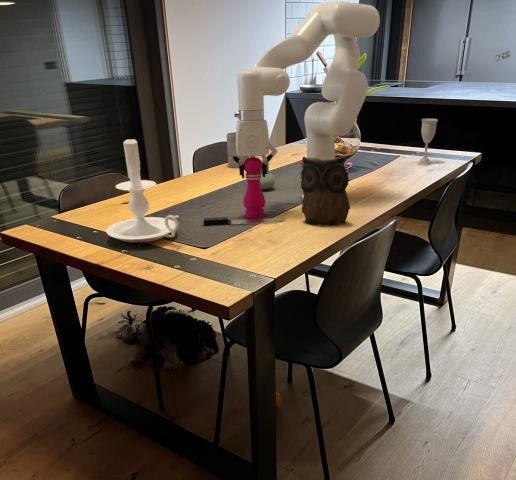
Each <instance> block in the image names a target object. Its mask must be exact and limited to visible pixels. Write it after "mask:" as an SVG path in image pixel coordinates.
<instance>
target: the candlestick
mask: <svg viewBox="0 0 516 480" xmlns="http://www.w3.org/2000/svg"><path fill="white" fill-rule="evenodd" d="M123 151H124V157H125V163H126V164H125V165H126V170H127V178H128V179H129V180H128V181H123V182H120V183H118V184H116V185H115V189H116V190H117V189H118V190H119V191H120V190H121V191H125V192H129V193H130V199H129V201H128V208H129V210H130V212H131V213H132V215H134V216H135V218H129V219H125V220H120V221H117V222H115V223H113V224H111V225H110V226H109V227H107V228H106V234H107V235H108V236H109V237H112V238H114V239H117V240H120V241H122V242H126V243H133V244H134V243H137V244H141V243H149V242H154V241H157V240H160V239H162V238H164V237H165V238H175V236H176V232H177V230H178V229H179V224H180V223H179V221H178V218H179V217H180V216H179V215H177V214H176V215H173V214H169V215H166V216H165V217H157V216H146V215H147V213H148V211H149V209H150V204H149V201H148V199H147V198H146V197H145V194H144V191H145V190H148V189H150V188H153V187H156V185H157V182H156V181H153V180H149V179H142V178H141V160H140V153H139V145H138V141H137V139H134V138H132V139H131V138H129V139H126V140H124V141H123ZM170 233H171V234H170Z"/></svg>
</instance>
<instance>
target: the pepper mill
mask: <svg viewBox="0 0 516 480" xmlns="http://www.w3.org/2000/svg"><path fill="white" fill-rule="evenodd" d="M261 160H262V159H260V158H259V157H258V156H250V157H249V158H247V159H246V160H245V162H244V172H245V173H244V176H245V179H246V182H247V183H246V184H247V186H246V191H245V193H244V196H243V201H242V202H243V206H244V208H245V210H244V216H245V217H246V218H248V219H261V218H263V217H264V216H265V209H264V207H265V206H266V198H265V195H264V192H263V190H261V187H260V178H261V173H260V171H261V170H262V167H263V165H262V161H261Z"/></svg>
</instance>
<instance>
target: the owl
mask: <svg viewBox="0 0 516 480" xmlns="http://www.w3.org/2000/svg"><path fill="white" fill-rule="evenodd" d="M301 161H302V164H303V165H302V169H301V173H300V179H301V181H300V187H301V189H302V193H303V194H304V197H303V200H302V204H301V213H302V214H303V215H304V218H305V219H304V224H308V225H311V226H329V227H333V226H339V225H346V222H347V218H348V216H349V212H350V209H351V203H350V201H349V196H348V194H347V190H346V189H347V188H348V186H349V179H350V178H349V172H348V171H347V168H346V164H345V162H346V157H345V156H339V157H326V158H325V157H318V158H307V156H303V157H302V160H301Z"/></svg>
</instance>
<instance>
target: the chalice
mask: <svg viewBox="0 0 516 480" xmlns="http://www.w3.org/2000/svg"><path fill="white" fill-rule="evenodd" d="M438 121H439V119H437V118H421V131H420V132H421V138H422V140H423V143H424V144H425V145H424V151H423V153H424V155H423V157H421V158H420V160H419V162H418V164H419V166H429V165H431V162H430V158H429V157H428V156H427V155H428V153H429V152H428V149H429V144H430V143H431V142H432V140H433V138H434V137H435V135H436V130H437V123H438Z"/></svg>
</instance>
